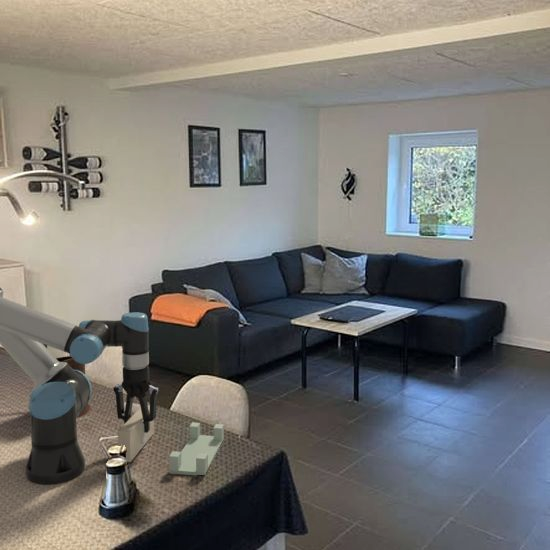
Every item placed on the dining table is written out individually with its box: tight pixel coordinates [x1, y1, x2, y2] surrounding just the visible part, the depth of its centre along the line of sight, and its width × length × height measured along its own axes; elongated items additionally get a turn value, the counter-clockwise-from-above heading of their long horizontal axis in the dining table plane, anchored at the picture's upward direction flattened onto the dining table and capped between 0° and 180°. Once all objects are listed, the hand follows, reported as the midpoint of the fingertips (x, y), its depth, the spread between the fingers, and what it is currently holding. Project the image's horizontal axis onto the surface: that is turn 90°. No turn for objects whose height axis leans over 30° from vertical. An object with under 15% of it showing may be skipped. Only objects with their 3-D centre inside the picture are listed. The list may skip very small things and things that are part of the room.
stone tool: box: [124, 401, 140, 418], centre depth 203 cm, size 8×3×15 cm
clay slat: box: [117, 404, 155, 463], centre depth 176 cm, size 20×4×9 cm, turn 172°
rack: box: [168, 421, 225, 476], centre depth 172 cm, size 23×10×5 cm, turn 172°
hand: (137, 441), depth 177 cm, fingers closed on clay slat, 3 cm apart
